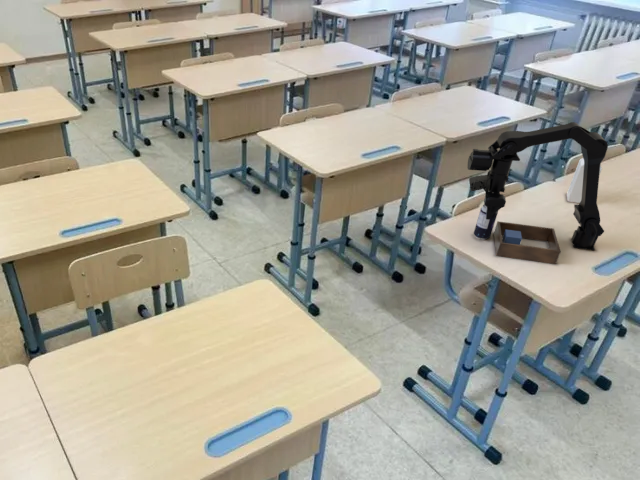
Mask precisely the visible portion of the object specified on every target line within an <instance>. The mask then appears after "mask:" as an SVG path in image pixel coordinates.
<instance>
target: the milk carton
mask: <svg viewBox="0 0 640 480" xmlns="http://www.w3.org/2000/svg"><path fill="white" fill-rule="evenodd" d="M602 170H603V168H602V163H601V164H600V173H599V176H600V175H601V173H602ZM583 173H584V159H583V157H582V158H580V159H579V161H578V163H577V166H576V169H575V171H574V173H573V176H572V179H571V181H570V183H569V186H568V189H567V192H566V201H567V202H569V203H575V204H579V203H580V202H581V199H582V186H583Z"/></svg>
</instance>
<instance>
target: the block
mask: <svg viewBox="0 0 640 480" xmlns="http://www.w3.org/2000/svg"><path fill="white" fill-rule="evenodd" d="M522 240H523V238H522V236H521V231H514V230H506V229H505V232H504V235H502V241H503V243H510V244H517V245H521V243H522Z"/></svg>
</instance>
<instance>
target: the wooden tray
mask: <svg viewBox="0 0 640 480" xmlns="http://www.w3.org/2000/svg"><path fill="white" fill-rule="evenodd" d="M505 229H506V230H514V231H521V236H522V239H526V240H534V241H539V242H540V241H541V242H547V243H546V244H547V246H548V248H547V247H539V246H531V245H523V244H520V245H517V244H510V243H503V241H502V238H503V235H504V232H505ZM493 240H494V248H495V255H496V257H502V258H510V259H516V260H524V261H530V262H531V261H532V262H538V263H544V264H552V265H556V264H557V262H558V259H559V257H560V254H561V247H560V244H559V240H558V237H557V233H556V230H555V228H554V227H553V228H551V227H546V226H545V227H544V226H538V225H529V224H521V223H514V222H505V221H498V220H497V222H496V225H495V227H494V230H493Z"/></svg>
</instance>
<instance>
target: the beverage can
mask: <svg viewBox="0 0 640 480" xmlns="http://www.w3.org/2000/svg"><path fill="white" fill-rule="evenodd" d="M486 213H487V206H485V205H484V204H483V205H482V206H481V208H480V210H479V214H478V216H477V219H476V224H475V228H474V231H473V235H474V237H475V238H476V239H478V240H483V241H484V240H487V239H489V238H491V236H492V232H493V231H494V230H493V229H494V228H495V227H494V226H495V223H496V220H497V216H498V214H499V210H498V211H497V212H496V213H495V214H494V215H493V216H492V217H491V218H490V219H489V220H488V219H486Z"/></svg>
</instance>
